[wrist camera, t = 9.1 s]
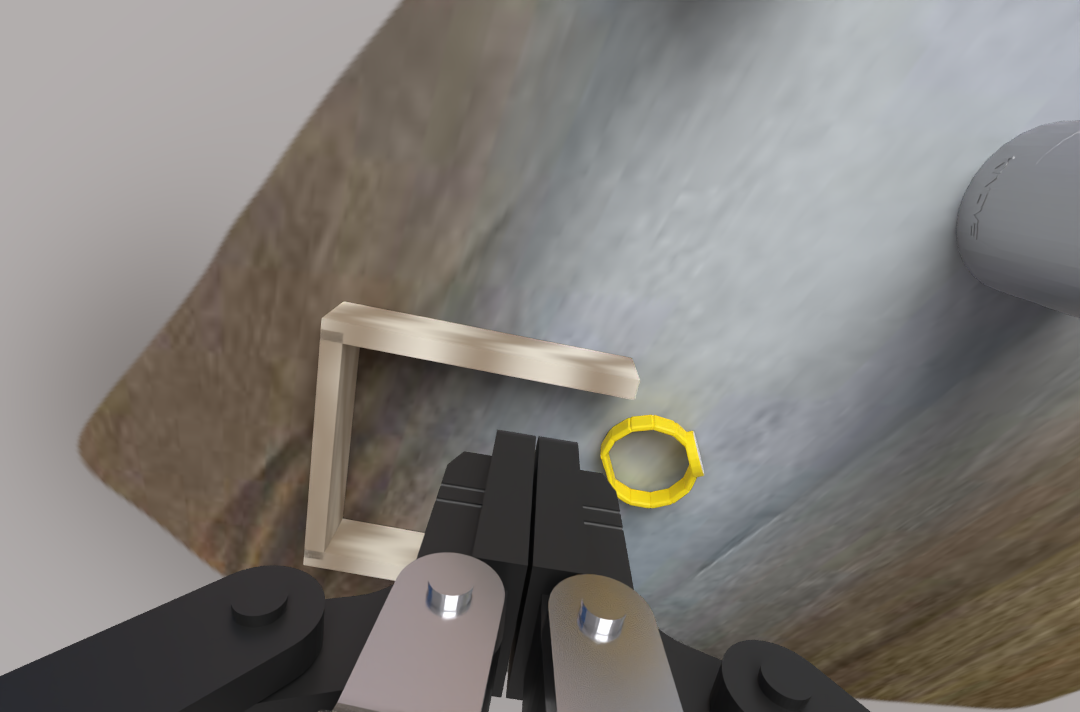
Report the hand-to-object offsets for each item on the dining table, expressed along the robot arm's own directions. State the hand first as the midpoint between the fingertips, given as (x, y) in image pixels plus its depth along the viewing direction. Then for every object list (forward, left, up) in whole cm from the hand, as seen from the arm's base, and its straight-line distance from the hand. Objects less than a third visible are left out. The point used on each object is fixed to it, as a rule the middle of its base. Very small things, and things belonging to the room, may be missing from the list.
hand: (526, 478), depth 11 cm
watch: (-6, +13, -23) cm, 27 cm away
